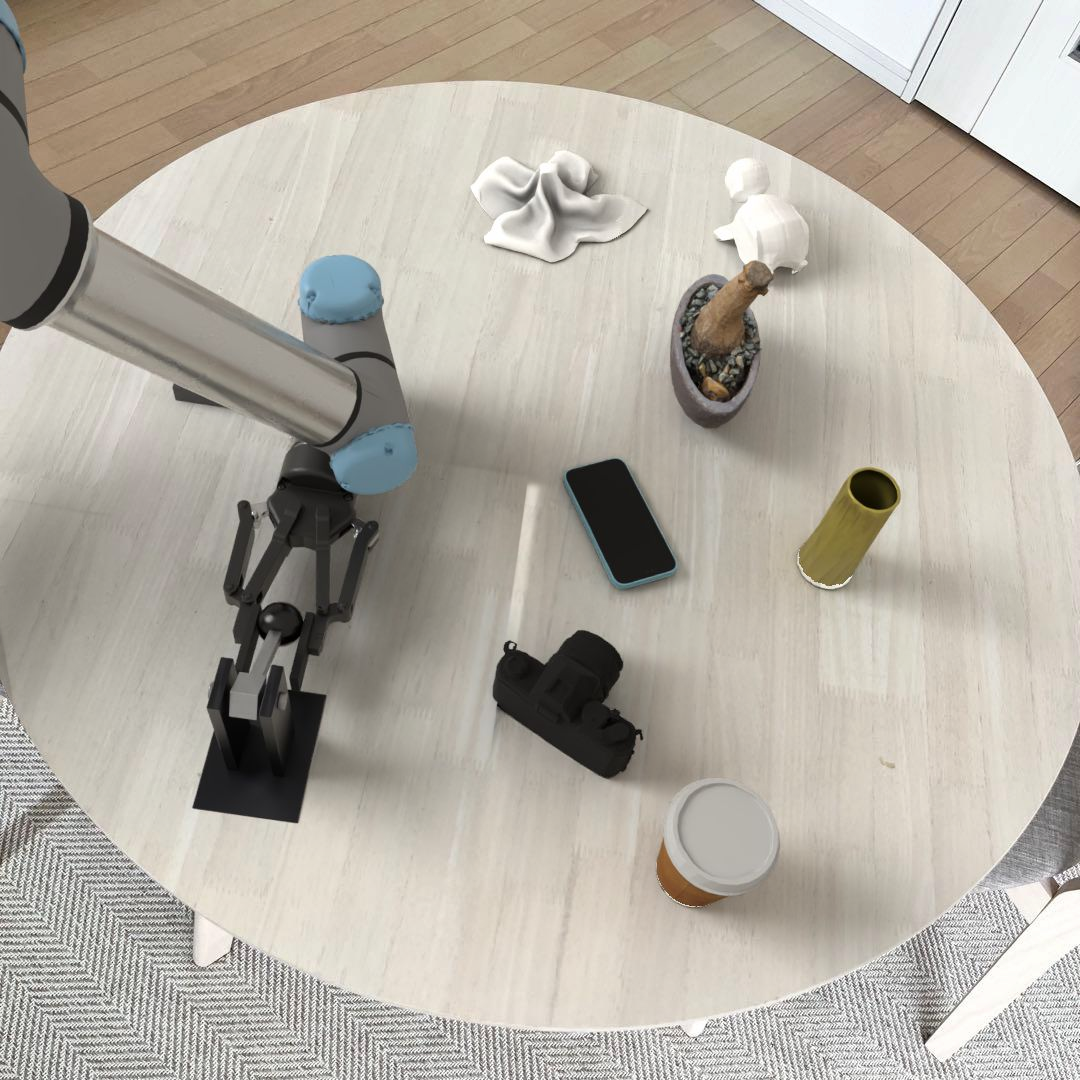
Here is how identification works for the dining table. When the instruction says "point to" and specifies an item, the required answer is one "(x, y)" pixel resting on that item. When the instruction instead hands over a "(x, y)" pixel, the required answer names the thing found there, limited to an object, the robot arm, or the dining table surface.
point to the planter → (717, 345)
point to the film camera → (569, 701)
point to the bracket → (259, 750)
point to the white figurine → (763, 220)
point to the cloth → (546, 206)
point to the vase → (849, 526)
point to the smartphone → (620, 523)
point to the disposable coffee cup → (716, 842)
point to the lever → (264, 657)
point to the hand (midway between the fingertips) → (267, 680)
